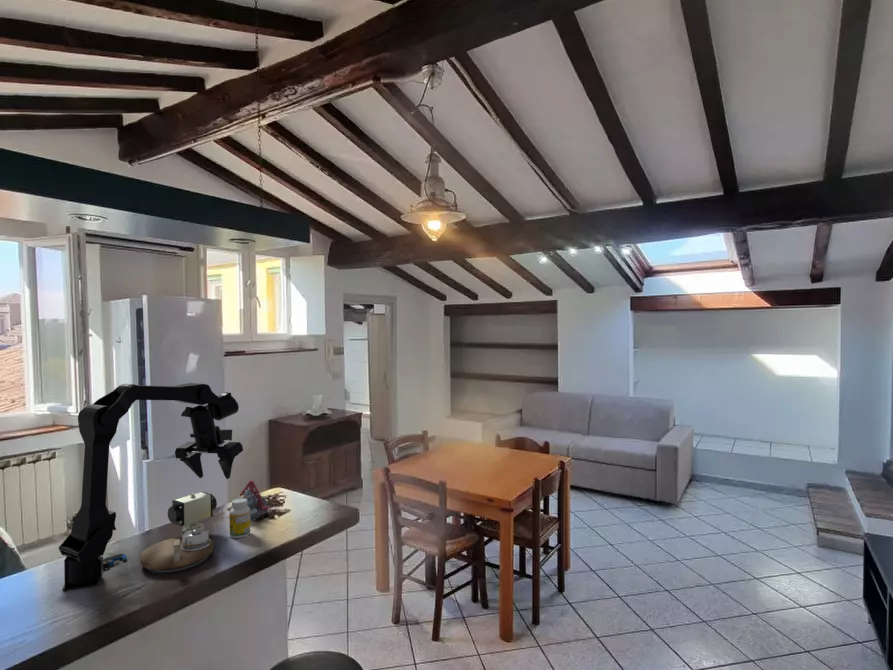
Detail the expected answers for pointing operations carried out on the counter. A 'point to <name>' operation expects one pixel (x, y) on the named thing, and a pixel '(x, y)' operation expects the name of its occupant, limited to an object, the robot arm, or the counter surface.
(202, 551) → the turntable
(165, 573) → the turntable base
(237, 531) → the supplement bottle
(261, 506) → the brake caliper
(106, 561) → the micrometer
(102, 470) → the robot arm
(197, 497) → the pneumatic valve
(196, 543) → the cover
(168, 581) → the counter surface
